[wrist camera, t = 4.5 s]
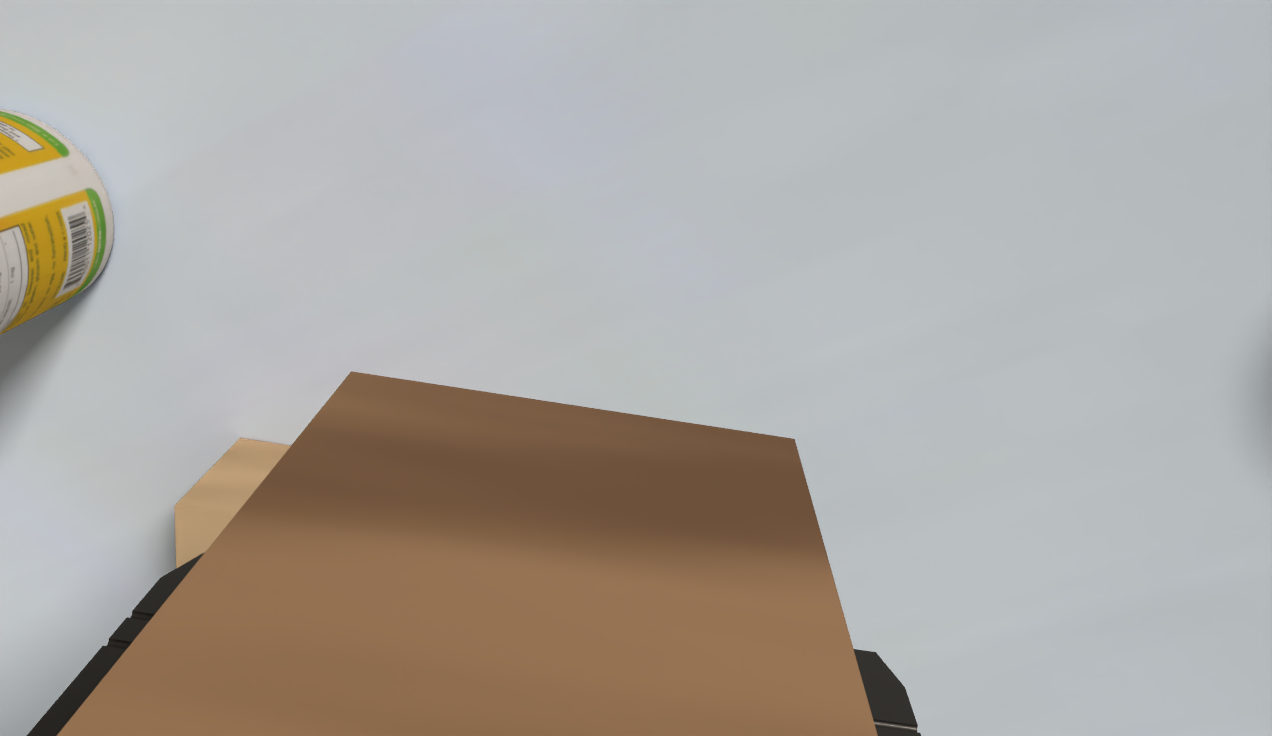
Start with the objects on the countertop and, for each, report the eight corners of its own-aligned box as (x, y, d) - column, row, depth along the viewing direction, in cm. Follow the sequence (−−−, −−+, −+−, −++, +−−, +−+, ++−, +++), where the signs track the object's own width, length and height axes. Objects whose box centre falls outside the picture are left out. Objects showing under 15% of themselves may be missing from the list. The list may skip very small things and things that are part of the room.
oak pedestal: (240, 438, 28) (174, 505, 24) (506, 479, 28) (482, 553, 24) (239, 653, 31) (180, 744, 27) (480, 689, 31) (455, 783, 27)
